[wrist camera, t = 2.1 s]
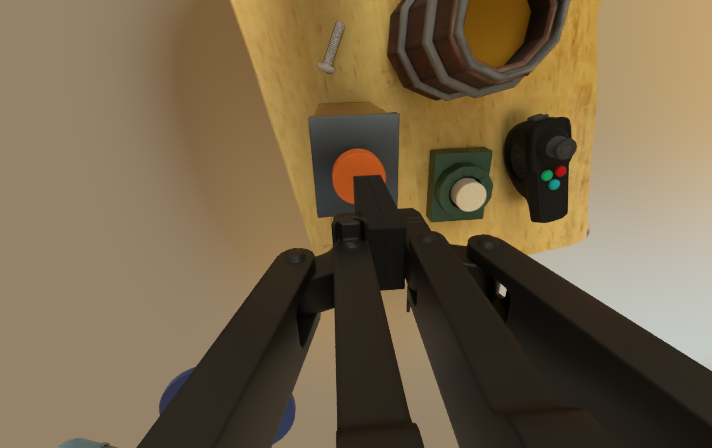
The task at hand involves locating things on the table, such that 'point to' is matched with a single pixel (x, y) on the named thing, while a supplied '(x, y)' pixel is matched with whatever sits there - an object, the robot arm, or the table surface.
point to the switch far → (447, 172)
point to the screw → (332, 49)
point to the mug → (471, 43)
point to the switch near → (351, 147)
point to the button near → (354, 171)
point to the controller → (541, 164)
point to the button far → (468, 194)
